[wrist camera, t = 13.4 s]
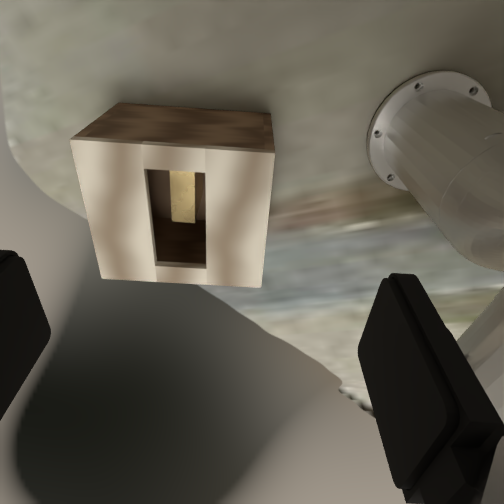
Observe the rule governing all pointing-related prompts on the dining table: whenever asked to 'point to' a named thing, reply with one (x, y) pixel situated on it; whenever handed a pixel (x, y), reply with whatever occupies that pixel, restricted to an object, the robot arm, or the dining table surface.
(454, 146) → the robot arm
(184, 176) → the tan flat block
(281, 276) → the dining table surface
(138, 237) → the box with rectangular opening
